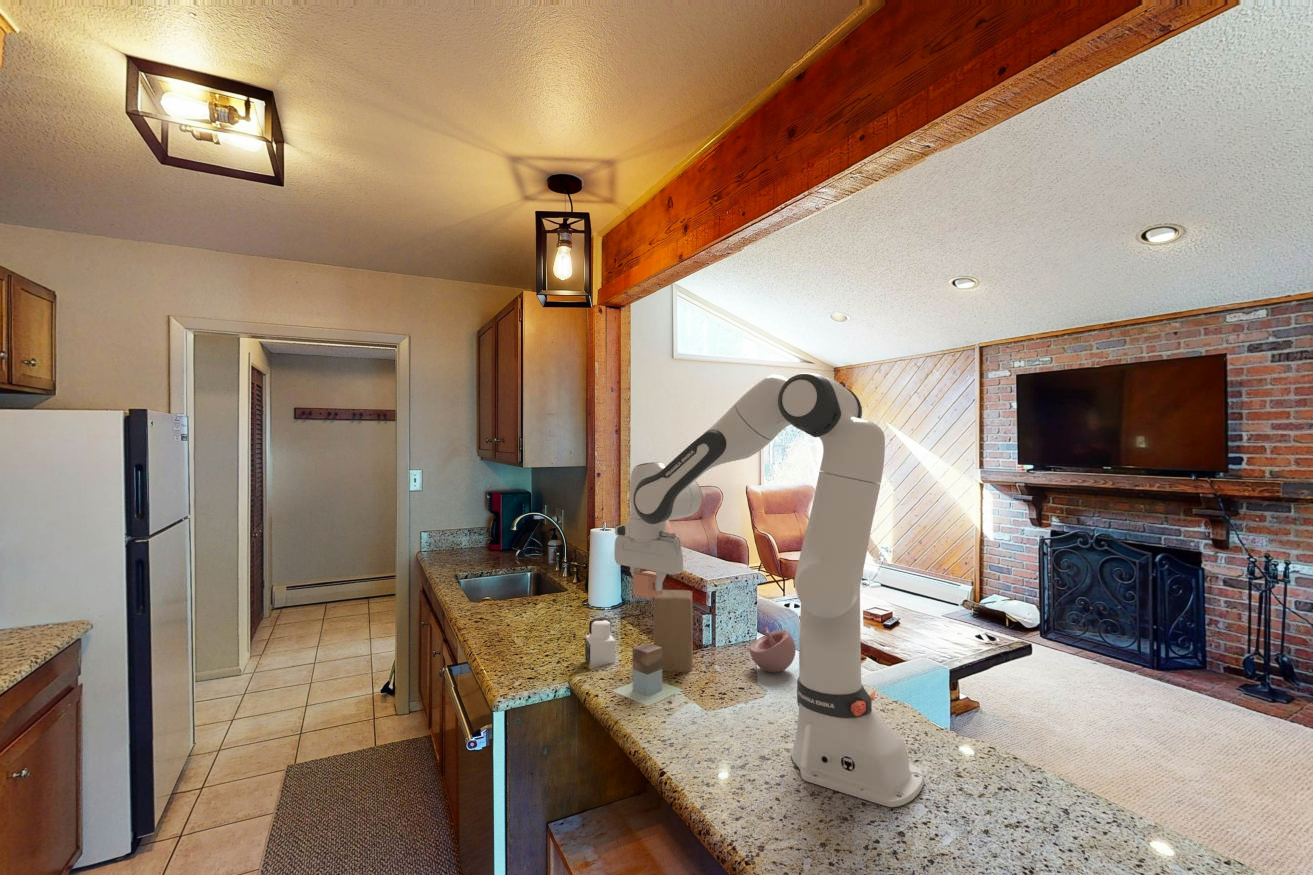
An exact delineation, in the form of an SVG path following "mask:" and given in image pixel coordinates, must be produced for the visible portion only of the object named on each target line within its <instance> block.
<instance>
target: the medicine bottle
mask: <svg viewBox="0 0 1313 875" xmlns="http://www.w3.org/2000/svg"><path fill="white" fill-rule="evenodd" d="M584 637H585V638H584V662H585V663H586V665H587V667H588V669H589V670H594V669H598V668H600V667H603V666H606V665H609V664H615V663H616V640H615V637H613V636H612V621H611V620H610V619H608V618H605V617H596V618H593V619H591V620H590V621H589V622H588V634H586V635H585V636H584Z"/></svg>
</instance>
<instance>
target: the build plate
mask: <svg viewBox="0 0 1313 875" xmlns="http://www.w3.org/2000/svg"><path fill="white" fill-rule="evenodd" d="M682 691H683V689H682V688H680V687H676V686H673V685H670V684H669V683H665V682H663V681H662V690H661V691H659V692H657V693H655V694H652V695H650V696H648V697H647V696H645V695H642V694H640V693H638V692H635V691H633V681H631V682H630V683H627V684H625V685H622V686H620V687H617V688H615V689H613V690H611V692H614V693H616V694H618V695H621V696H622V697H624V698H625V697H626V698H627V699H630V700H632V701H635V702H637V703H640V704H642V705H644V706H646V707H649V706H651V705H653V704H655V703H657V702H660V701H662V700H665V699H666V698H669V697H671V696H674V695H675V694H678V693H680V692H682Z"/></svg>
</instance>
